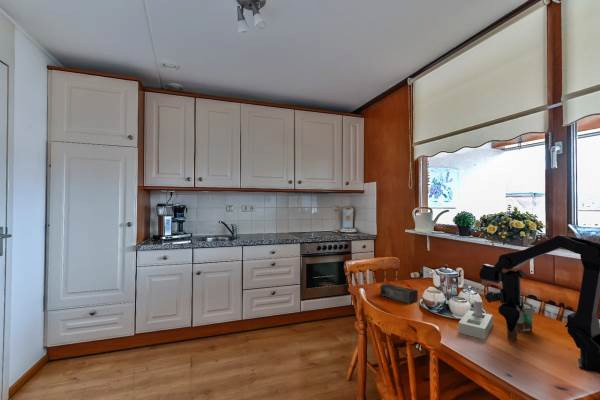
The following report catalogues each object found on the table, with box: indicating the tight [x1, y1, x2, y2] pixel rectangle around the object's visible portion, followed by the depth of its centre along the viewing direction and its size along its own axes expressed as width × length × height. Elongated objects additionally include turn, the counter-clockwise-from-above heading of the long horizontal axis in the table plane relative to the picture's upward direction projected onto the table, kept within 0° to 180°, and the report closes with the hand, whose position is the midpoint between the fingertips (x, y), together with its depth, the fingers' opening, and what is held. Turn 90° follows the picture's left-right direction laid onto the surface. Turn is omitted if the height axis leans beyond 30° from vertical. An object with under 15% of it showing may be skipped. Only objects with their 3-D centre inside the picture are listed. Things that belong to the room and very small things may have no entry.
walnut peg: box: [506, 324, 518, 341], centre depth 108 cm, size 3×3×10 cm
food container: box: [517, 301, 536, 334], centre depth 116 cm, size 12×6×10 cm, turn 168°
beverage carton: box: [379, 283, 419, 305], centre depth 155 cm, size 8×19×7 cm, turn 39°
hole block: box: [458, 309, 494, 340], centre depth 116 cm, size 18×9×4 cm, turn 138°
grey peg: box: [473, 299, 483, 318], centre depth 120 cm, size 3×3×10 cm
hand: (512, 327), depth 108 cm, fingers open, 9 cm apart
